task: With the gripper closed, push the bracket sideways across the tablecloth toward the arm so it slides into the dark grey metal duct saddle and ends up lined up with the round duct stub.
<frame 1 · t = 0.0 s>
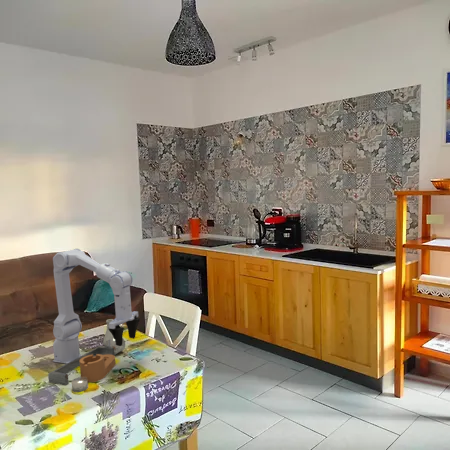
hand: (125, 341, 149), 10 cm above the table, tool pointing down, fingers open, 7 cm apart
bracket: (99, 372, 149), on the table
flask: (111, 343, 178), on the table
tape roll: (80, 388, 136), on the table
duct saddle: (84, 368, 152), on the table
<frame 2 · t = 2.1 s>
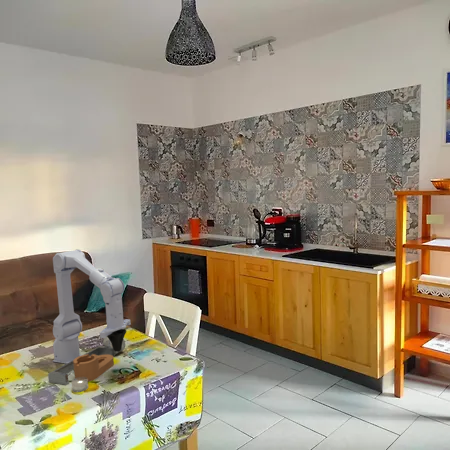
hand: (117, 350, 145), 9 cm above the table, tool pointing down, fingers closed
bracket: (95, 372, 150), on the table
everything else where it was.
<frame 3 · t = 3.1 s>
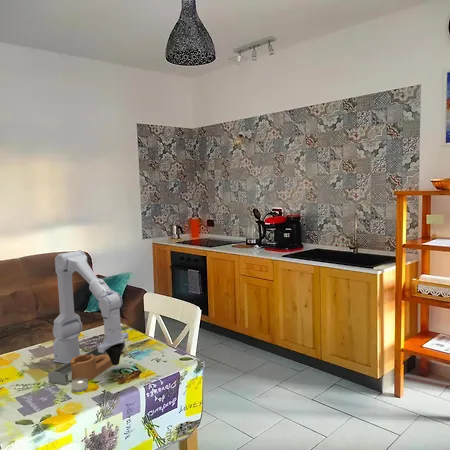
hand: (115, 364, 146), 3 cm above the table, tool pointing down, fingers closed
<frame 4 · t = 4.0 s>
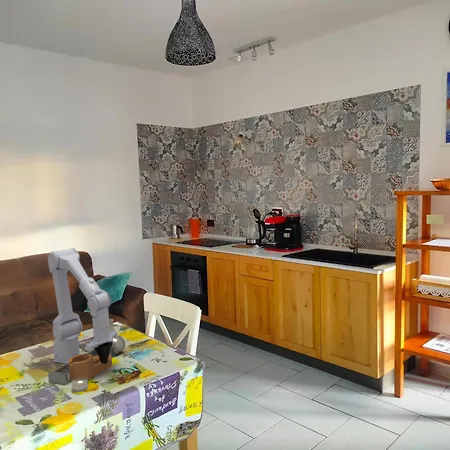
hand: (104, 362, 148), 3 cm above the table, tool pointing down, fingers closed
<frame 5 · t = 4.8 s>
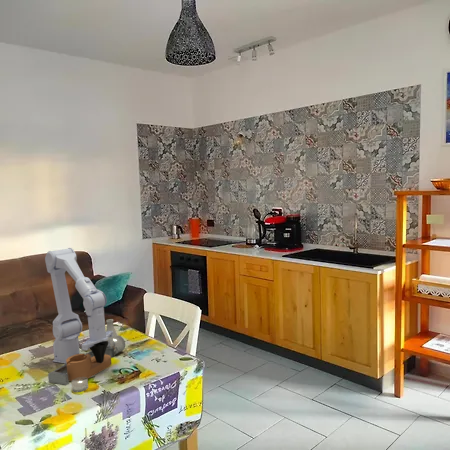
hand: (99, 362, 149), 3 cm above the table, tool pointing down, fingers closed
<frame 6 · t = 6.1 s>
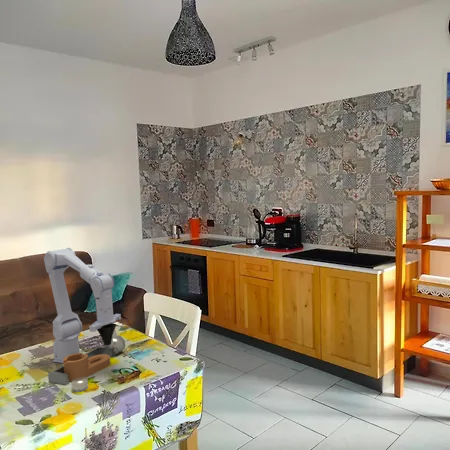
hand: (107, 344, 148), 10 cm above the table, tool pointing down, fingers closed
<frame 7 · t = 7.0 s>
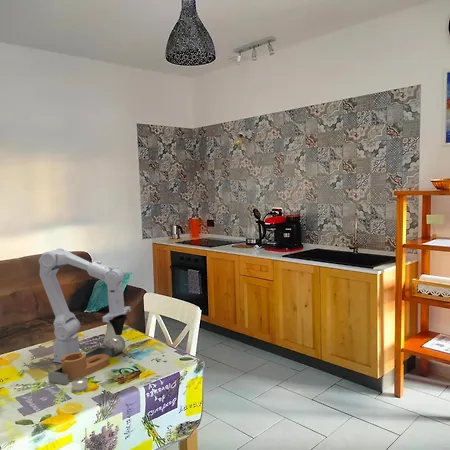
hand: (118, 334, 158), 10 cm above the table, tool pointing down, fingers closed
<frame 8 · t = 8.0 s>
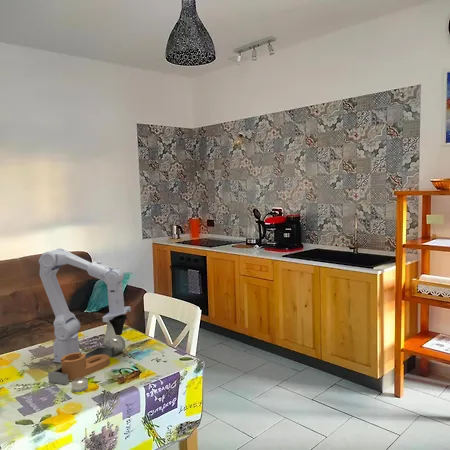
hand: (118, 334, 158), 10 cm above the table, tool pointing down, fingers closed
at the end: bracket inside the target area (0.7 cm from its centre), on the table; bracket moved 5.4 cm from its start; bracket tilted 0° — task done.
